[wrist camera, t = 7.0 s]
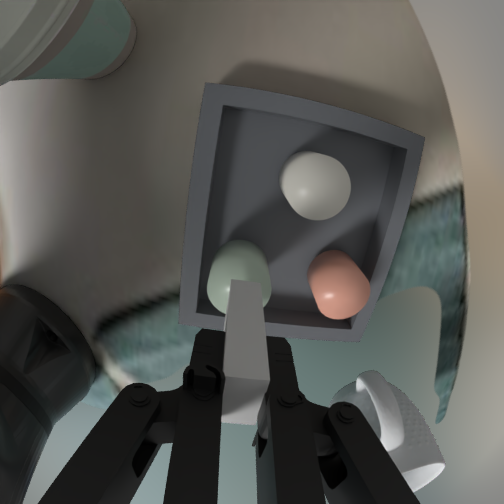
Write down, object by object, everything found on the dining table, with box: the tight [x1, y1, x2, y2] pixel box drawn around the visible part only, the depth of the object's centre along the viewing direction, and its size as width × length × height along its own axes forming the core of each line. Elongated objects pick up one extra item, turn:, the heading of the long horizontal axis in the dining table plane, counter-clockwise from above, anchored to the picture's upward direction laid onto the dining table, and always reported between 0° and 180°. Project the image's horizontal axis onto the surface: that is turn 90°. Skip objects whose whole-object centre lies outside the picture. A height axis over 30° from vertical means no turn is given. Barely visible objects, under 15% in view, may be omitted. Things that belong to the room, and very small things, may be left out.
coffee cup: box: [0, 0, 136, 86], centre depth 9 cm, size 8×9×12 cm
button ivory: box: [279, 151, 351, 220], centre depth 17 cm, size 4×4×3 cm
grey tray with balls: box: [179, 83, 425, 342], centre depth 19 cm, size 14×16×3 cm
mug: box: [328, 371, 446, 492], centre depth 22 cm, size 15×11×13 cm
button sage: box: [207, 240, 272, 314], centre depth 18 cm, size 4×4×3 cm
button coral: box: [307, 250, 370, 319], centre depth 19 cm, size 4×4×3 cm
